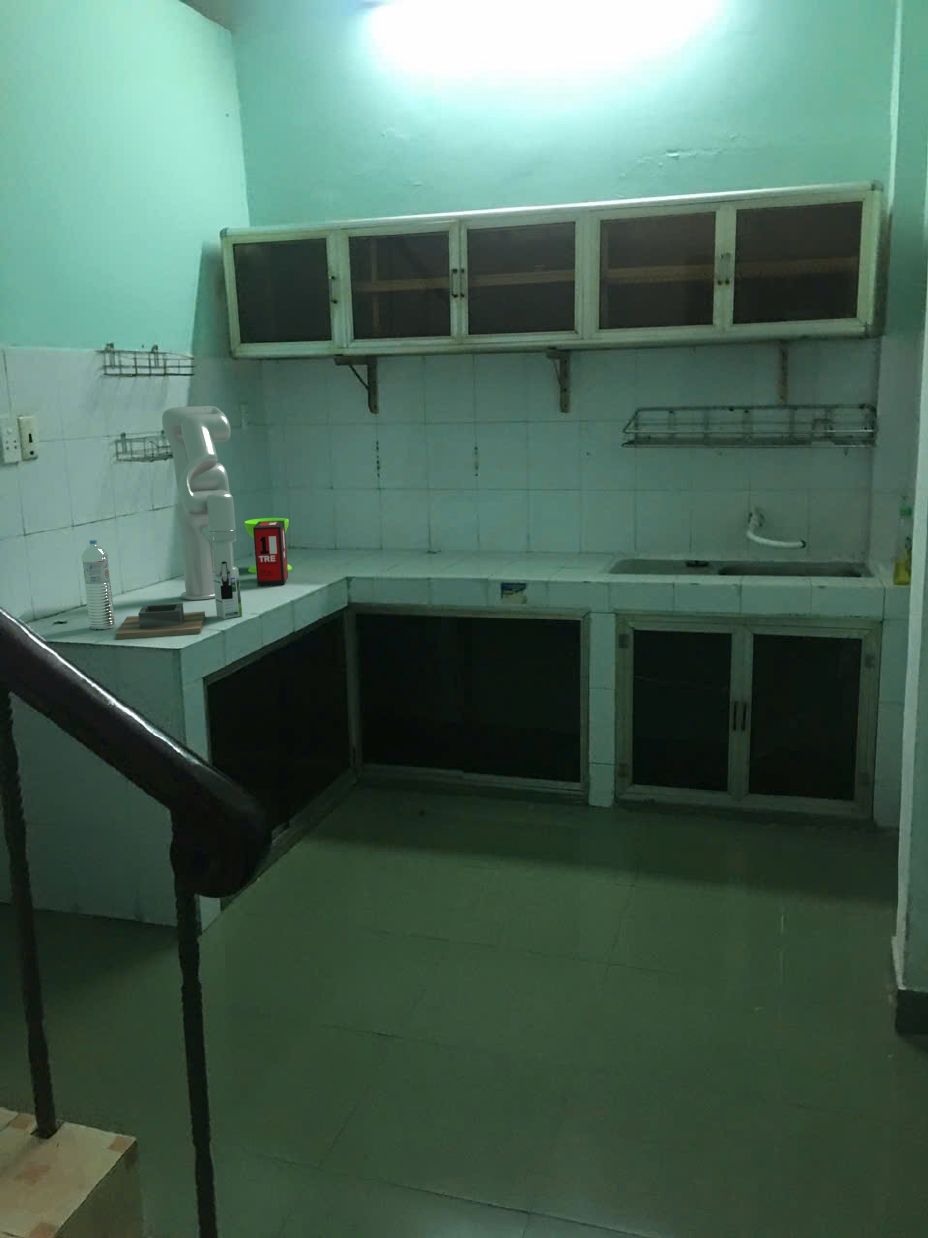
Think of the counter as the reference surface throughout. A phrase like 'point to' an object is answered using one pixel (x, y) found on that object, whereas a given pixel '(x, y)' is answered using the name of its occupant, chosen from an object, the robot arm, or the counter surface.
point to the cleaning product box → (270, 553)
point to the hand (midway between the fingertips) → (227, 595)
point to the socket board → (161, 622)
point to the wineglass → (249, 527)
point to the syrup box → (228, 606)
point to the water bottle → (98, 587)
